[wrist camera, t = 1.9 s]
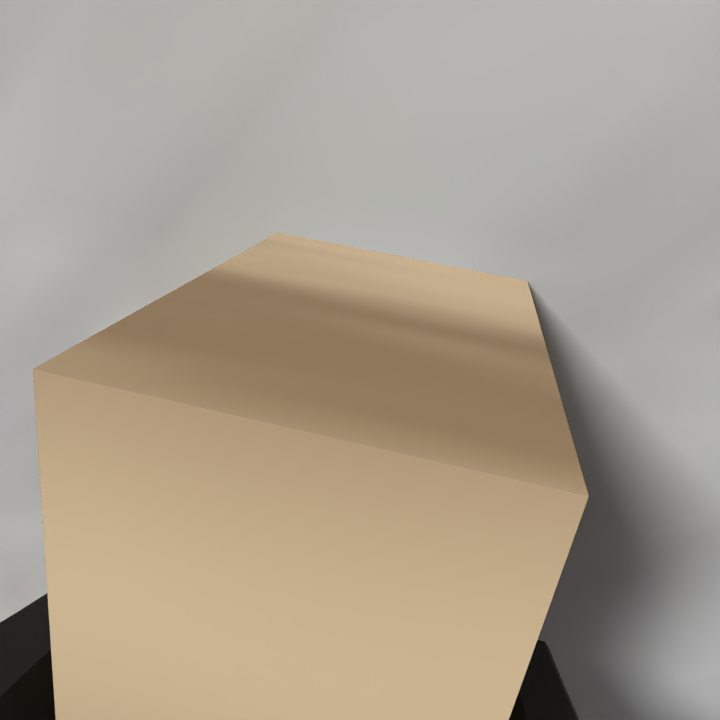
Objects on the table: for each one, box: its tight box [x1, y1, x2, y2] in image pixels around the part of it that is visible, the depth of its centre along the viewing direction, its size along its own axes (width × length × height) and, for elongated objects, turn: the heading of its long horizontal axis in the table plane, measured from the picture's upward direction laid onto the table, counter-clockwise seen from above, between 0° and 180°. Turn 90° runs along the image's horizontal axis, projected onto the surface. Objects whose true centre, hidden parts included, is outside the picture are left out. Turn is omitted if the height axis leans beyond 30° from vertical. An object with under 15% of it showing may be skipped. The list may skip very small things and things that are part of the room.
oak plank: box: [33, 233, 589, 720], centre depth 9 cm, size 12×4×6 cm, turn 171°
